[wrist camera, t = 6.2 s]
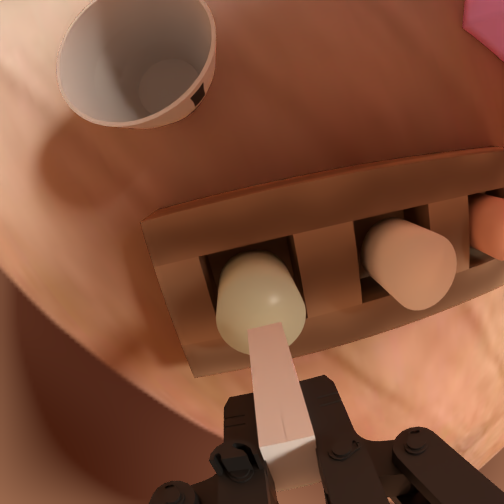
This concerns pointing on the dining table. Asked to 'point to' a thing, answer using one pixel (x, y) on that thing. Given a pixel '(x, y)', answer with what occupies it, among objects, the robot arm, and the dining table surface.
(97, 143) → the dining table surface
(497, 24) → the pink table lamp
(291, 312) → the button sage
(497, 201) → the button terracotta
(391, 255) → the peach rounded knob
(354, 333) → the brown wooden long block
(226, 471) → the robot arm
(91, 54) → the cup
